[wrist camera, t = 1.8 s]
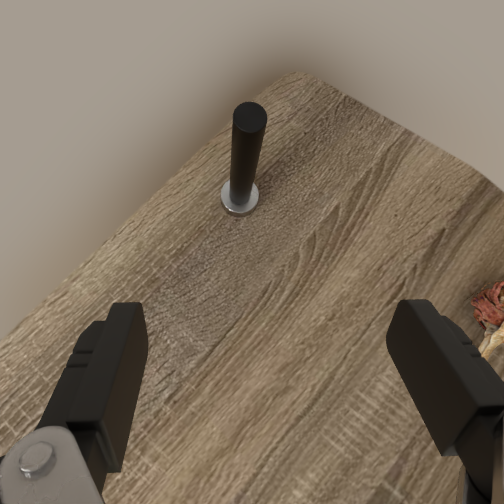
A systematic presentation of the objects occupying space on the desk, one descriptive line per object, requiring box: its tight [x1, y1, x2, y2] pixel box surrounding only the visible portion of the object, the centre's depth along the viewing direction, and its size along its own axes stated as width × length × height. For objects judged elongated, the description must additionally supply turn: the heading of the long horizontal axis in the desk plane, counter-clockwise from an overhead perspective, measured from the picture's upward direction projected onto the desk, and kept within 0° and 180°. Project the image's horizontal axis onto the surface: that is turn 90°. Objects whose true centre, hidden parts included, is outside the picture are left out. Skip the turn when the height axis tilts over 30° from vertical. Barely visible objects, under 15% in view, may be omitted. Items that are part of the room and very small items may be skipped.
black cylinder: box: [221, 102, 267, 217], centre depth 26 cm, size 4×4×14 cm
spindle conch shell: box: [463, 280, 504, 361], centre depth 30 cm, size 14×5×4 cm, turn 155°
